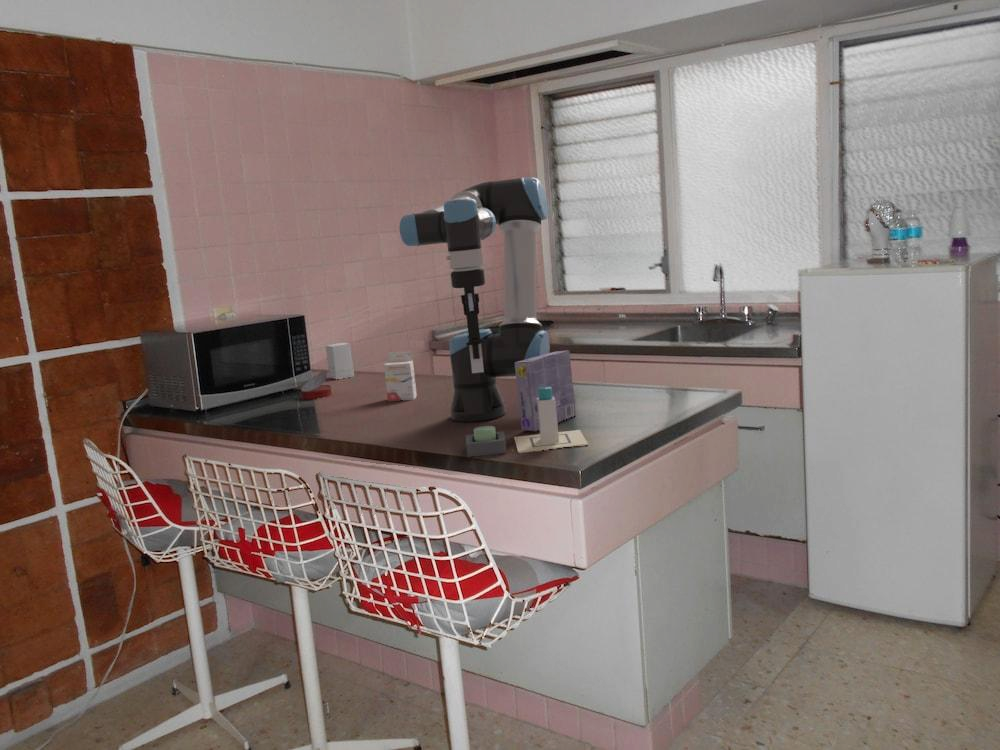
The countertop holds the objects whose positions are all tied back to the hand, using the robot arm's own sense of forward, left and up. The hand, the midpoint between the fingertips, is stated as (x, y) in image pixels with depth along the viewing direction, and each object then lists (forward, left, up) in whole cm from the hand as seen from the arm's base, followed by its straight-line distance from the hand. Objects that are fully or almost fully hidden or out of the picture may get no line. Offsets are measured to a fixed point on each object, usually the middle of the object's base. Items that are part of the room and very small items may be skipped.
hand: (477, 372), depth 205 cm
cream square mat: (-1, +15, -18) cm, 24 cm away
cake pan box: (-20, +17, -19) cm, 32 cm away
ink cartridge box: (-74, -24, -19) cm, 80 cm away
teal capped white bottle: (-1, +15, -18) cm, 24 cm away
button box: (0, 0, -18) cm, 18 cm away
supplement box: (-130, -50, -19) cm, 140 cm away
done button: (0, 0, -18) cm, 18 cm away
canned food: (-95, -54, -19) cm, 111 cm away
